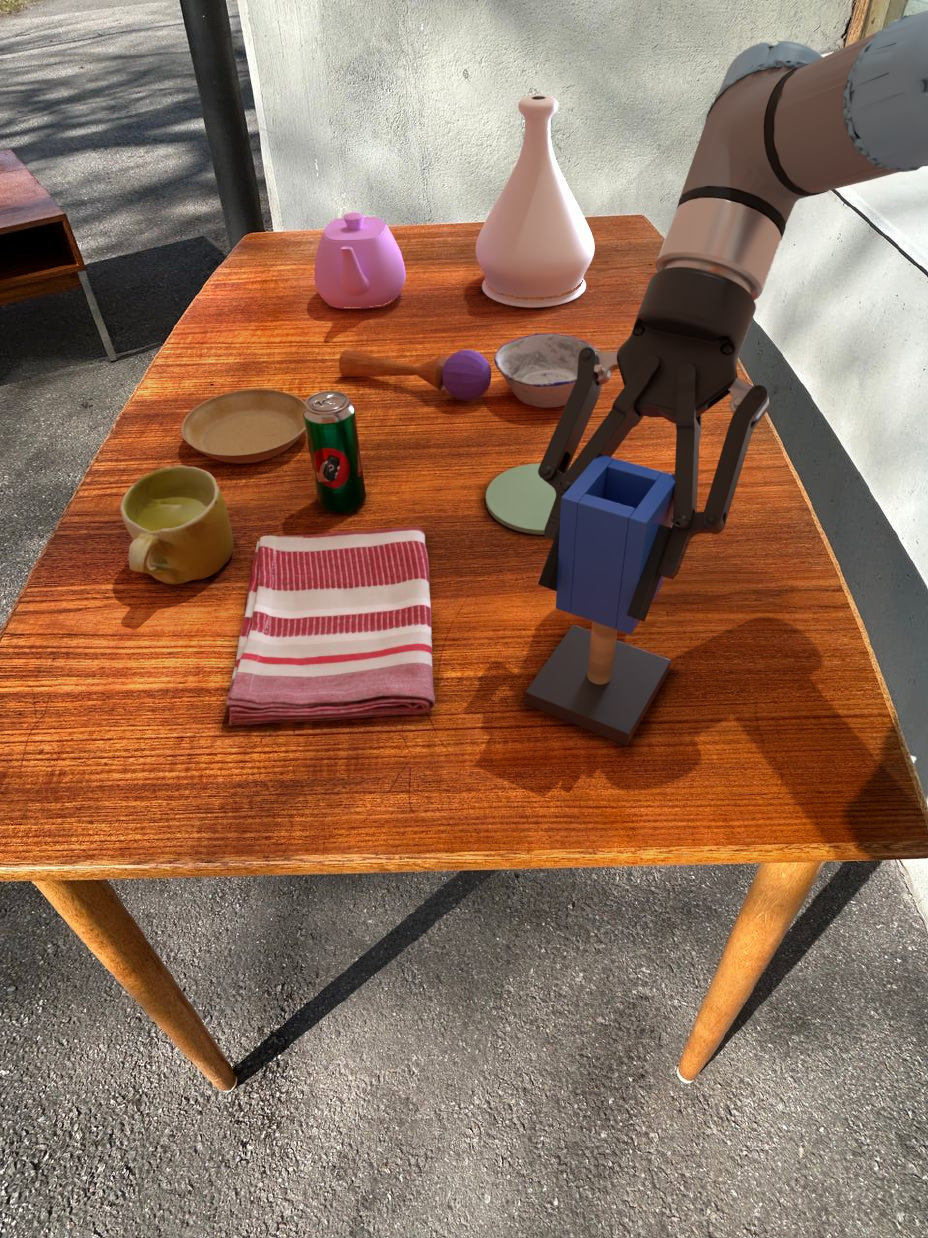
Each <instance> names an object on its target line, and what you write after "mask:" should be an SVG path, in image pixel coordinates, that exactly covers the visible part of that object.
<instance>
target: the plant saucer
mask: <svg viewBox="0 0 928 1238" xmlns="http://www.w3.org/2000/svg"><path fill="white" fill-rule="evenodd" d="M305 402H306V401H304V399H302V398H300V397H299V396H297V395H296V394H293V393H290V392H287V391H283V390H279V389H272V388H246V389H239V390H233V391H229V392H225V393H221V394H219V395H216V396H214V397H211V398H209V399H207V400H205V401H202V402H201V403H199V404H198V405H196V406H195V407H193V408H192V410H191V411H189V412H188V413H187V414H186V416H185V417H184V419H183V421H182V423H181V426H180V431H181V435H182V436H181V437H182V438H183V439H184V441H185V442H186V443H187V444H188V445H189V446H190V447H192V448H193V449H195V450H196V451H198V452H199V453H201V454H203V455H204V456H207V457H209V458H211V459H214V460H217V461H219V462H223V463H229V464H252V463H259V462H263V461H266V460H270V459H272V458H274V457H277V456H279V455H281V454H282V453H284V452H285V451H287V450H288V449H289V448H291V446H293V445H294V444H295V443H296V441H298V440H299V438H300V437H302V435H303V434H304V432H305V431H306V430H305V424H304V418H303V411H304V409H305Z"/></svg>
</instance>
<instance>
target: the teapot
mask: <svg viewBox="0 0 928 1238" xmlns="http://www.w3.org/2000/svg"><path fill="white" fill-rule="evenodd" d="M315 254H316V255H315V259H314V270H313V271H314V285H315V286H314V287H315V289H316V291H317V292H318V295H319V296H320V297H321V299H322V300H323V301H324V302H325V303H326V304H327V305H328V306H330V307H332V308H335V309H345V310H359V309H361V310H362V309H363V310H364V309H375V308H384V307H386V306H387V305H390V304H392V303H393V302H394V301H395V300H396V299H397V298H398V296H399V295H400V293H401V291H402V289H403V288H404V285H405V284H406V283H405V282H406V279H407V275H406V273H407V272H406V267H405V263H404V259H403V256H402V255H403V254H402V252H401V249H400V247H399V245H398V243H397V241H396V239H395V237H394V234H393V233H392V231H391V230H390V228H389V226H388V225H387V224H386V221H384V220H383V219H381V218H379V217H376V216H366V215H365V214H363V213H361V212H357V211H355V212H353V211H352V212H348V213H346V214H344V215H343V217H341V218H340V217H339V218H336V219H333V220H332V221H330V222H329V223H328V224H327V225H326V226H325V227H324V229H323V231H322V234H321V236H320V240H319V243H318V246H317V250H316V253H315ZM397 295H398V296H397ZM393 299H394V300H393ZM391 300H393V301H392V302H390V303H388V302H389V301H391ZM385 303H388V304H385ZM382 304H385V305H382ZM375 305H381V306H375ZM369 306H374V307H369ZM344 307H351V308H344ZM352 307H361V308H352Z"/></svg>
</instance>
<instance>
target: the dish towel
mask: <svg viewBox="0 0 928 1238" xmlns="http://www.w3.org/2000/svg"><path fill="white" fill-rule="evenodd" d="M247 586H248V587H247V591H246V606H245V611H244V616H243V617H244V618H243V622H242V626H241V629H240V633H239V638H238V645H237V652H236V658H235V664H234V668H233V672H232V676H231V681H230V687H229V691H228V693H227V697H226V699H225V703H224V704H225V707H228V710H229V712H228V714H229V719H228V724H229V726H237V725H238V726H239V725H249V726H250V725H251V726H252V725H258V724H259V725H260V724H267V723H269V724H270V723H281V724H282V723H292V722H293V723H294V722H295V723H296V722H298V723H299V722H300V723H301V722H322V721H338V720H350V719H363V718H364V719H365V718H370V717H371V718H372V717H375V718H376V717H387V716H399V715H400V716H401V715H418V714H425V713H428V712H430V711H431V710H432V709H433V708H434V707H435V705H436V702H435V701H436V696H435V691H434V674H433V673H434V672H433V671H434V670H433V668H434V667H433V641H432V631H433V630H432V620H433V619H432V607H431V606H432V605H431V593H430V563H429V553H428V549H427V546H426V533H425V530H424V529H423V528H422V527H420V526H406V527H392V528H391V527H390V528H385V529H383V528H382V529H372V530H371V529H370V530H352V531H337V532H328V533H316V534H292V535H291V534H281V535H261V537H260V538H259V540H258V541H256V546H255V551H254V555H253V559H252V563H251V569H250V574H249V579H248V585H247Z"/></svg>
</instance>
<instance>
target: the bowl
mask: <svg viewBox="0 0 928 1238" xmlns="http://www.w3.org/2000/svg"><path fill="white" fill-rule="evenodd" d="M585 347H591V348H592V349H594V351H595V352H601V350H600V348H599V349H598V348H596V347H595V346H594V345H593V344H591V343H588V342H587V341H585V340H582V339H580V338H577V337H574V336H572V335H567V334H559V333H534V334H530V335H525V336H522V337H518V338H515V339H513V340H511V341H509V342H507V343H504V344H503V345H501V347H499V348H498V349H497V351H496V352H495V354H494V357H493V361H494V365H495V367H496V368H497V370H498V371H499V373H500V374H501V375H502V377H503V379H504V380H505V382H506V383H507V384H508V386H509V388H510V389H511V391H512V393H513V394H514V396H515V397H516V398H517V399H518V400H519V401H520V402H522V403H524V404H525V405H528V406H531V407H535V408H541V409H542V408H546V409H551V408H559V407H563V406H564V407H565V406H566V403H567V401H568V398H569V396H570V394H571V391H572V389H573V387H574V384H575V382H576V380H577V371H578V358H579V353H580V351H581V350H582V349H583V348H585Z"/></svg>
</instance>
